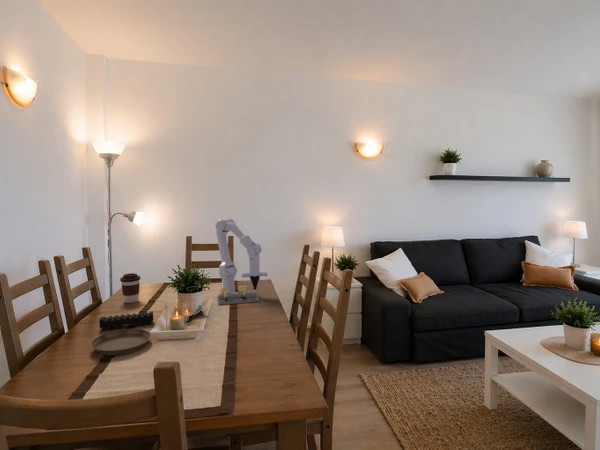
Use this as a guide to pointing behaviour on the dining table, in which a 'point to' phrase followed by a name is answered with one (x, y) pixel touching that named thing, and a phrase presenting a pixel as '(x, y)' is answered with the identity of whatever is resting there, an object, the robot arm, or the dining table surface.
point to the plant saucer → (121, 341)
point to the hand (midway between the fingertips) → (254, 289)
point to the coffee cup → (130, 287)
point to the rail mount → (126, 320)
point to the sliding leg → (242, 291)
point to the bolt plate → (238, 300)
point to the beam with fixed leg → (232, 294)
